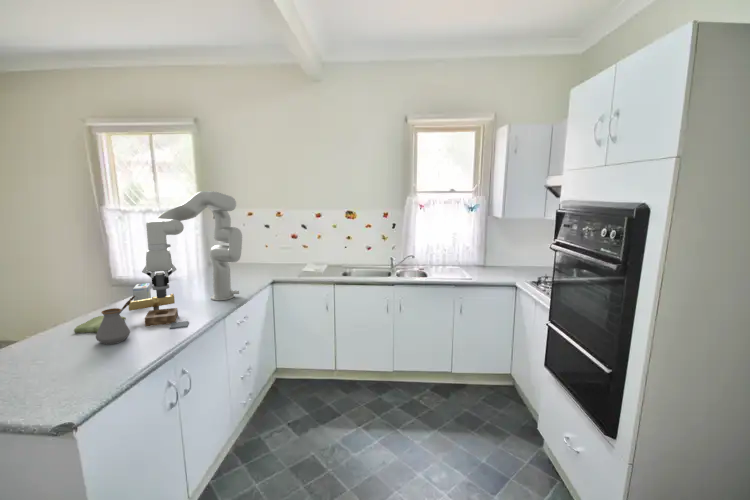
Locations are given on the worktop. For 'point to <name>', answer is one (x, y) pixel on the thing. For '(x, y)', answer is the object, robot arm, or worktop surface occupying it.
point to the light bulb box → (142, 291)
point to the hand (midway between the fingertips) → (160, 284)
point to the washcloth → (91, 325)
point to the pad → (179, 324)
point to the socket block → (161, 316)
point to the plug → (160, 285)
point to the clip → (151, 302)
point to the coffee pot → (113, 326)
